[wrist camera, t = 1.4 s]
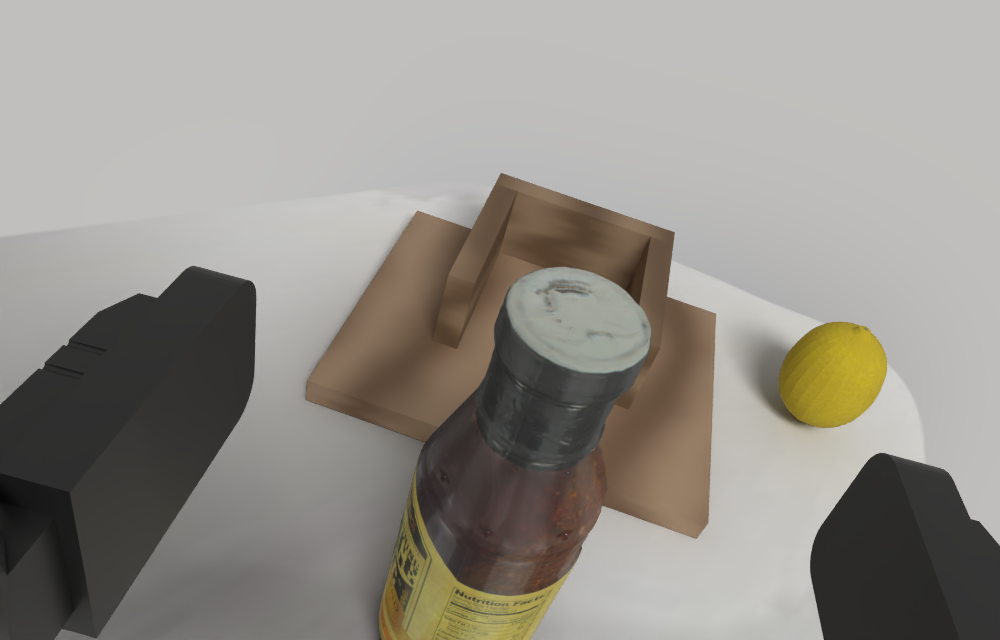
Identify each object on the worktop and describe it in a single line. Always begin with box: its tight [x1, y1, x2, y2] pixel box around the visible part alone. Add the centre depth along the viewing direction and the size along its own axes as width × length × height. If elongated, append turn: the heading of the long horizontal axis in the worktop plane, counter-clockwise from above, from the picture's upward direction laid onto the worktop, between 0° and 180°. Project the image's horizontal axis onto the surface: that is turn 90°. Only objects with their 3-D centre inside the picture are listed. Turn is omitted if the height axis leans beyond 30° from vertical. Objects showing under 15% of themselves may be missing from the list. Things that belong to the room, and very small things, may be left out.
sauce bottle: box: [379, 267, 651, 640], centre depth 27 cm, size 6×6×20 cm
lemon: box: [779, 322, 887, 428], centre depth 47 cm, size 6×6×8 cm
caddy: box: [306, 173, 716, 539], centre depth 45 cm, size 22×18×6 cm
